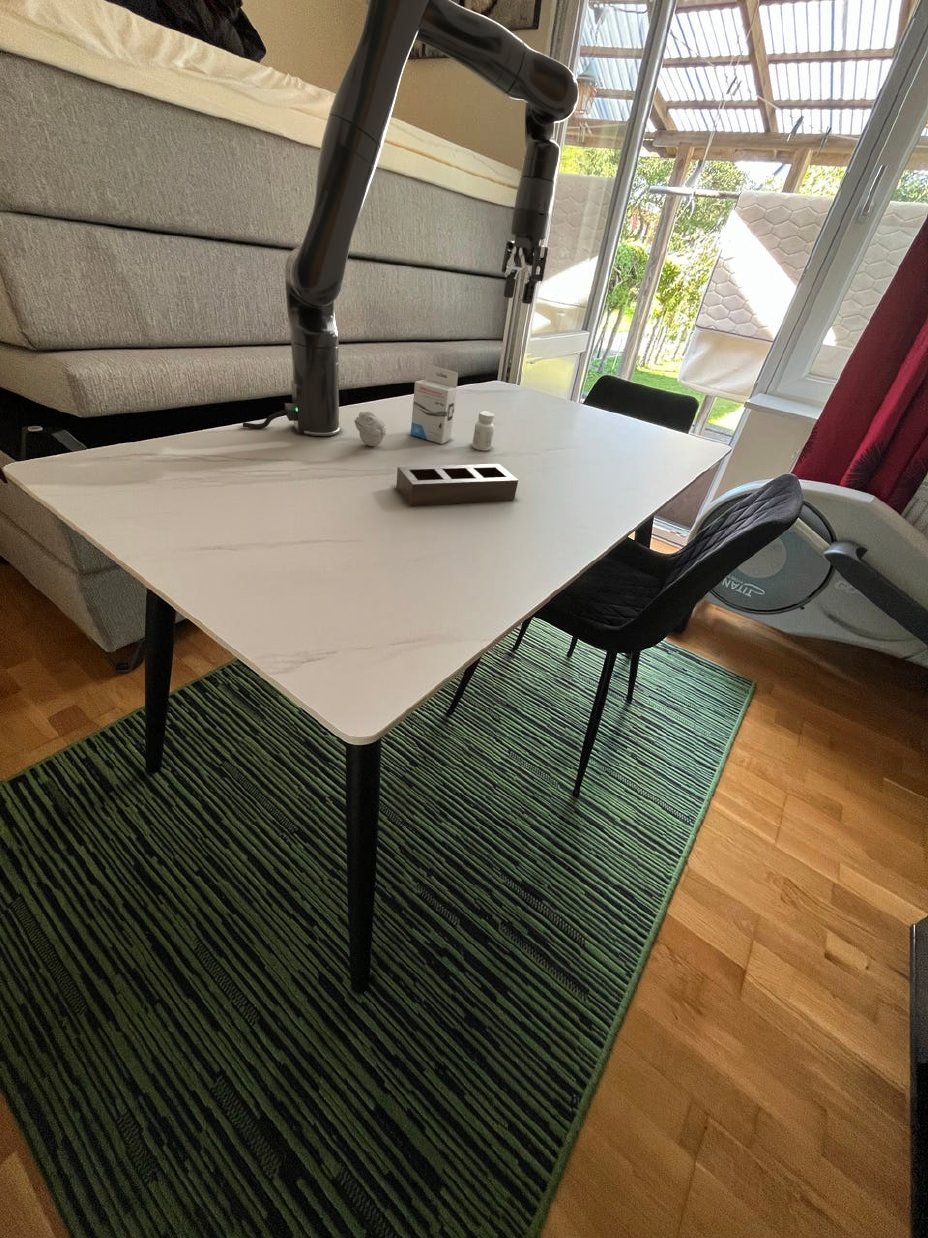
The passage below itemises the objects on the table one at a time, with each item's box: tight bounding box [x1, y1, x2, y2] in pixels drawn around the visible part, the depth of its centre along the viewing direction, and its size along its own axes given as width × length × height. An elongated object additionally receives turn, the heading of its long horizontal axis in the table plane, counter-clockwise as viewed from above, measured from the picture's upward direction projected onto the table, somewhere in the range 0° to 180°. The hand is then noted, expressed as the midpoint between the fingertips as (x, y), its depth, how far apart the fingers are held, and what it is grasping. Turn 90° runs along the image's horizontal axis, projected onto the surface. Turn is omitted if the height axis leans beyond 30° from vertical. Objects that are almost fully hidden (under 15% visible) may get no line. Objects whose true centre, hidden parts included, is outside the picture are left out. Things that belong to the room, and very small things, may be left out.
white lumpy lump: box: [353, 411, 387, 447], centre depth 109 cm, size 6×7×7 cm
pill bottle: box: [471, 410, 495, 452], centre depth 118 cm, size 4×4×8 cm
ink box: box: [410, 364, 459, 445], centre depth 116 cm, size 9×5×15 cm, turn 65°
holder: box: [395, 463, 519, 507], centre depth 95 cm, size 8×21×4 cm, turn 114°
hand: (517, 300), depth 115 cm, fingers open, 8 cm apart
